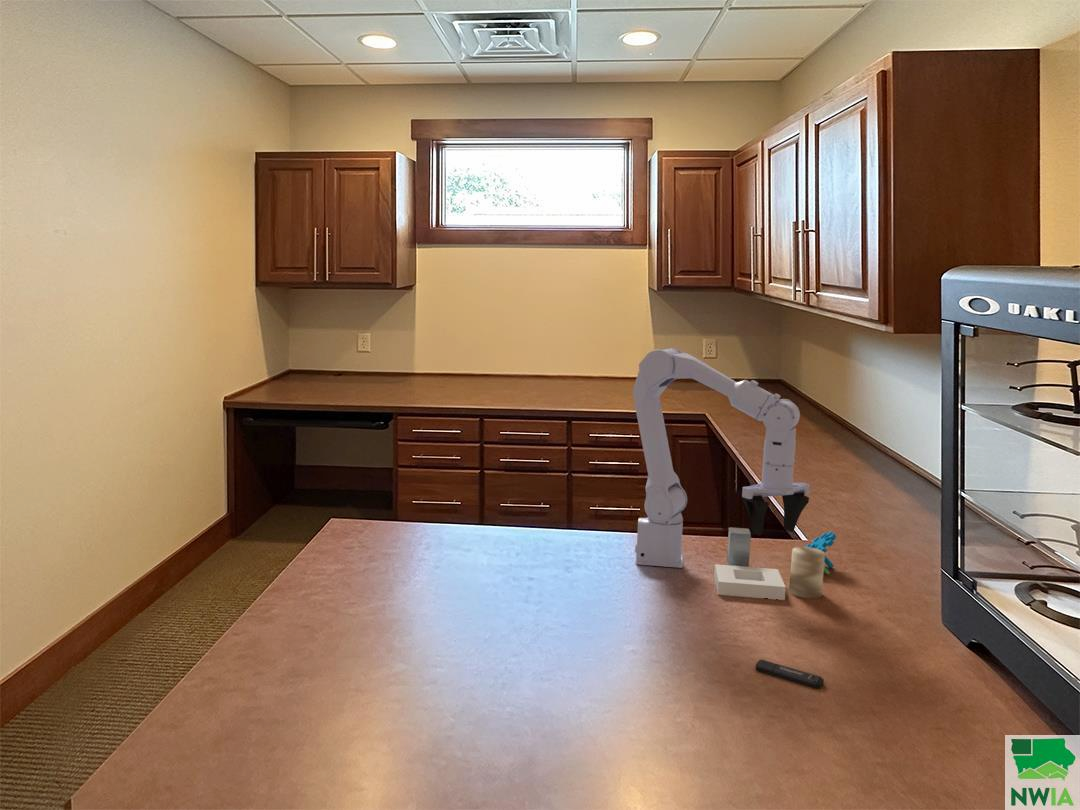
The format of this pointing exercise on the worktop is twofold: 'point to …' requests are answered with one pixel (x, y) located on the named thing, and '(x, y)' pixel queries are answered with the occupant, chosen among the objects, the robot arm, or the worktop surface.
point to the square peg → (738, 547)
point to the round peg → (807, 572)
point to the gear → (822, 543)
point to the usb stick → (790, 674)
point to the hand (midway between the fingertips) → (773, 532)
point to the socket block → (749, 582)
